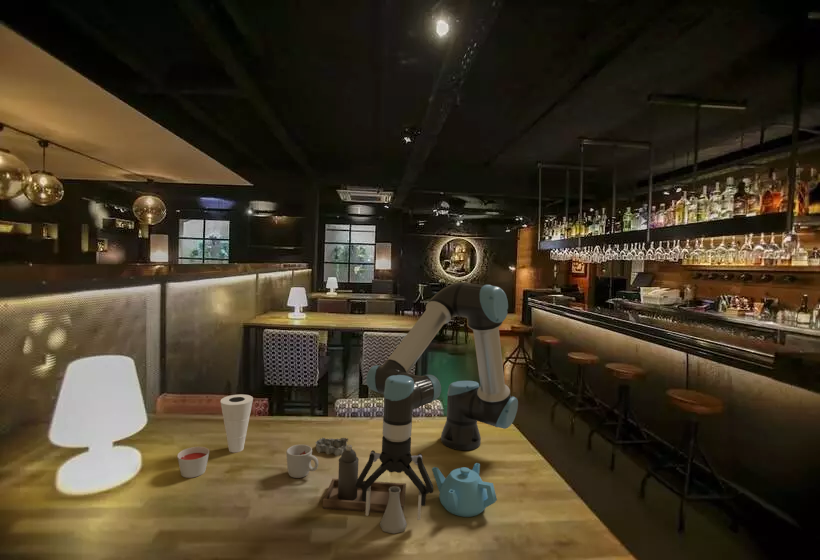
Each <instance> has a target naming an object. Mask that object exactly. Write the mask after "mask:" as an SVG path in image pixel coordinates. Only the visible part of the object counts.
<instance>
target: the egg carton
mask: <svg viewBox="0 0 820 560" xmlns="http://www.w3.org/2000/svg"><path fill="white" fill-rule="evenodd" d="M348 441H349V438H347V437H340V438H333V437H332V438H326V437H320V438H319V439H318V440H317V441H314V443H315V447H316V448H315V450H316V451H317V453H323V452H325V454H327V455H331V454H334V456H336V457H338V456H341V455H342V453H343V451H344V450H346V446H347V445H348Z"/></svg>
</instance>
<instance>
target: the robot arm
mask: <svg viewBox="0 0 820 560" xmlns="http://www.w3.org/2000/svg"><path fill="white" fill-rule="evenodd" d="M507 297H508V296H507V294H506V292H505V291H504V290H503V289H502V288H501V287H499V286H496V285H491V284H477V283H468V282H467V283H466V282H455V283H452V284H450V285H448V286H447V285H446V286H445V287H444V288H442V289H441V290H439V291H437V292H436V293H435V294H434V296H432V297H431V298H430V300H429V301H428V302H427V303H426V305H425V311H424V312H423V313H422V315H421V316H420V317H419V318H418V320H417V321H416V322H415V323H414V324H413V326H412V327H411V329H410V330H409V331H408V332H407V334H405V337H404V338H403V339H402V340H401V342H400V343H399V344H398V345H397V347H395V349H394V350H393V352H392V353H391V354H390V356H389V357H388V358H387V359H386V360H385V362H384V363H383V365H381V364H380V365H377V364H376V365H373V366H371V367H370V368H369V369H368V371H367V374H366V377H365V380H366V381H365V382H366V385H367V387H368V388H369V389H370V390H371V391H372V392H373V391H374V392H376V393H378V394H382V395H383V419H382V438H381V440H382V441H381V452H380V453H379V452H376V451H375V450H371V451H370V454H369V458H368V461H367V463H366V464H365V466H364V467H363V468H362V471H361V472H360V474H359V475H358V480H357V482H356V487H357V488H361V489H362V501H364V502H366V512H365V516H368V517H369V514H370V512H369V511H370V493H371V485H372V484H373V483H374V482H375V481H376V482H377V480H378V478H380V477H381V476H382V475H383V474H384V473H385V472H386V471H387V472H388V473H399V474H401V473H404V474H405V475H406V477H408V478H409V480H410V481H411V483H413V485H414V487H415V488H416V489H417V490H418V499H417V500H418V502H417V521H418V520H421V516H422V515H421V514H422V512H421V511H422V507H425V506H426V503H427V502H426V501H427V494H429V493H430V494H433V492H434V484H433V482H432V480H431V477H430V475H429V473H428V471H427V468H426V467H425V464H424V461H423V454H422V453H418V454H417V455H412V452H411V450H412V449H411V448H412V429H413V426H412V425H413V410H415V409H418V408H420V407H423V406H425V405H427V404H432V403H433V402H434V401H436V400H438V398H439V397H440V396H441V393H442V385H441V382H440V380H439V379H438V377H436V376H435V375H433V374H422V375H421V376H420V375H417V374H416V375H415V374H411V373H409V372H410V371H411V370H412V368H413V367H414V365H415V364H416V363H417V362H418V360H419V359H420V357H421V356H422V355H423V353H424V352H425V350H426V349H427V348H428V347H429V345H430V344H431V343H432V340H434V338H435V337H436V336H437V334H438V332H439V331H440V330H441V329H442V327H443V326H444V325H445V324H449V323H450V322H451V320H452V319H453V318H455V317H459V318H466V321H467V326H468V328H469V329H471V330H472V332H473V341H474V345H475V346H474V347H475V354H476V360H477V361H476V362H477V371H478V379H479V382H478V381H476V380H475V381H473V380H457V381H453V382H451V383H450V384H449V385H448V389H447V394H446V395H447V401H446V402H447V404H446V421H445V424H444V426H443V428H442V431H441V435H440V441H441V443H442V444H443V445H444V446H446V447H447V448H449V449H452V450H457V451H471V450H475V449H478V448H479V447H481V444H482V443H481V442H482V441H481V440H482V437H481V433H480V430H479V426H478V422H480V423H484V424H485V425H489V426H492V427H495V428H500V429H504V430H505V429H508V428H510V427H511V425H513V423H514V421H515V418H516V416H517V412H518V407H519V401H518V398H517V397H515V396H513V395H512V396H511V389H510V387H509V386H508V385H507V384H506V383H505V382H506V381H505V373H504V363H503V355H502V347H501V338H500V327H501V326H502V325H503V322H504V321H505V320H506V319H507V316H508V310H509V302H508V298H507ZM378 459H379V460H380V462H381V463H380V465H379V466H378V467H377V468H376V470H375V471H374V472H373V473H372V474H370V476H369V477H367V475H368V474H369V471H370V470H371V468H372V466H373V464H374V463H376V462H377V461H378ZM412 462H413V463H414V464H415V465H416V466H417V469H418V472H419V473H420V475H421V478H422V480H423V481H422V480H421V479H420V477H419V476H418V474H417V473H416V472H415V471H414V470H413V469H412V466H411V465H410V464H411V463H412ZM366 477H367V479H366V480H365V478H366Z"/></svg>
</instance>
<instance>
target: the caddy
mask: <svg viewBox="0 0 820 560" xmlns="http://www.w3.org/2000/svg"><path fill="white" fill-rule="evenodd" d="M393 486H396V487H399V488H400V489H401V491H400V493H399V498H400V504H401V508H402V511H403V512H404V509H405V508H404V507H405V500H406V492H407V491H406V490H407V483H404V482H403V483H401V482H388V481H377V480H376V481H375V482H374V483H373V484H372V485H371V493H370V511H369V513H381V514H384V513H385V510H386V507H387V505H388V501H389V494H390V493H389V488H390V487H393ZM322 509H326V510H338V511H339V510H340V511H341V510H342V511H351V512H353V511H354V512H365V513H366V502H364V501H362V489H361V488H357V498H356V499H355V500H353V501H351V500H339V499H338V478H332V479H331V481H330V483H329V486H328V489H327V491H326V492H325V495H324V497H323V499H322Z"/></svg>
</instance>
